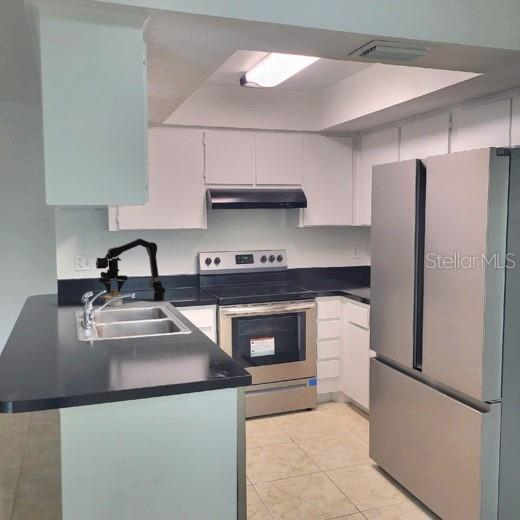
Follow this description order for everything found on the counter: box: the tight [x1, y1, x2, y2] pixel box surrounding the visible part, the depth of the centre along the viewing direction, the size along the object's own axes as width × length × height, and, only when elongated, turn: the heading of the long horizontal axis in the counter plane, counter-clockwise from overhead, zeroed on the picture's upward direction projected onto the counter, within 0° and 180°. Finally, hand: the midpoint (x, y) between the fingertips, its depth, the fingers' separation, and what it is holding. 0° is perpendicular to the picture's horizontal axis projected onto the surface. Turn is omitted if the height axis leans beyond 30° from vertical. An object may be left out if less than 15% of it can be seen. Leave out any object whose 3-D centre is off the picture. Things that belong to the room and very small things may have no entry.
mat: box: [122, 300, 158, 308], centre depth 329 cm, size 17×17×1 cm
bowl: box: [105, 298, 123, 306], centre depth 328 cm, size 10×10×5 cm
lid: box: [98, 288, 122, 300], centre depth 328 cm, size 13×13×5 cm
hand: (113, 292), depth 328 cm, fingers open, 8 cm apart
